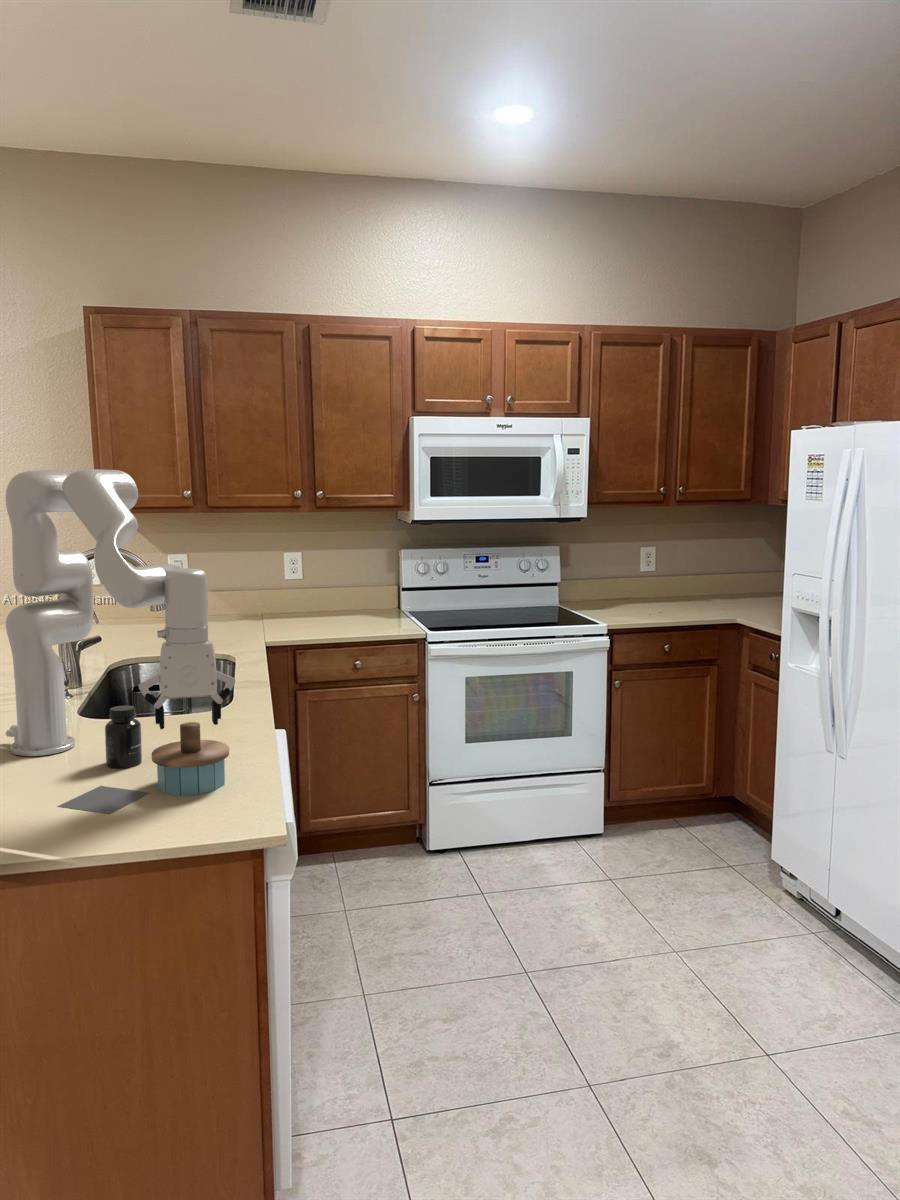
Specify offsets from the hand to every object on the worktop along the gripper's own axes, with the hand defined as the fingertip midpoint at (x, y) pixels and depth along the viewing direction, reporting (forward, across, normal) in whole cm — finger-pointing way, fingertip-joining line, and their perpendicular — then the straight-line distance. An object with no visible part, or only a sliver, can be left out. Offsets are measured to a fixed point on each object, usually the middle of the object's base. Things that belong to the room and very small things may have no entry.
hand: (188, 725), depth 161 cm
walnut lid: (+6, 0, 0) cm, 6 cm away
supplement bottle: (+12, -11, +17) cm, 24 cm away
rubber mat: (+12, -15, -3) cm, 19 cm away
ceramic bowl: (+12, 0, 0) cm, 12 cm away
